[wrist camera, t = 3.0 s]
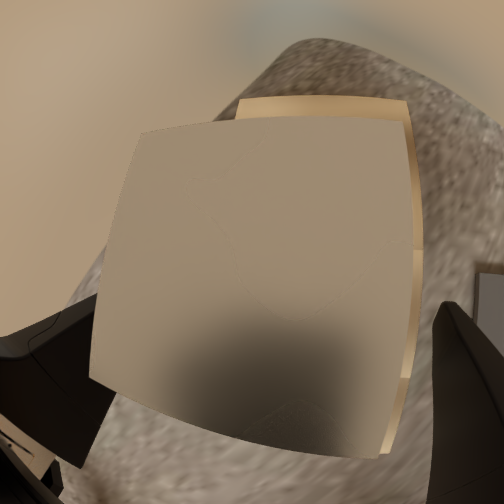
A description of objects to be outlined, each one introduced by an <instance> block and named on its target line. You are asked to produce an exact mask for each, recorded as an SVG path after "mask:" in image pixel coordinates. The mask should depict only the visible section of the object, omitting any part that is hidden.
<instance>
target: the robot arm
mask: <svg viewBox="0 0 504 504" xmlns="http://www.w3.org/2000/svg"><path fill="white" fill-rule="evenodd" d="M97 294H98V293H96V294H94V295H92V296H90V297H88V298H86V299H84V300H82V301H80V302H78V303H76V304H74V305H72V306H70V307H68V308H66V309H64V310H62V311H60V312H58V313H56V314H54V315H52V316H50V317H48V318H46V319H44V320H42V321H40V322H38V323H35V324H33V325H31V326H28V327H26V328H24V329H22V330H19V331H17V332H15V333H13V334H10V335H8V336H4V337H0V504H64V503H63V502H62V501H61V500H60V499H58V497H59V495H60V494H61V492H62V490H63V489H64V487H63V482H62V477H61V471H60V465H59V462H58V461H57V460H56V459H55V457H56V455H57V456H58V457H60V458H62V459H63V460H65V461H67V462H68V463H70V464H72V465H74V466H75V467H77V468H79V469H81V468H82V467H83V465H84V463H85V460H86V458H87V456H88V453H89V451H90V449H91V447H92V444H93V442H94V440H95V438H96V436H97V433H98V431H99V429H100V427H101V426H100V425H101V424H102V422H103V420H104V418H105V416H106V414H107V412H108V410H109V407H110V405H111V403H112V401H113V399H114V397H115V395H116V393H117V392H115V391H113V390H111V389H110V388H108V387H106V386H104V385H102V384H100V383H98V382H97V381H95V380H93V379H91V378H90V377H89V368H90V353H91V341H92V331H93V322H94V314H95V307H96V300H97ZM432 339H433V356H432V383H433V446H432V460H431V471H430V479H429V487H428V494H427V501H426V504H504V357H503V356H502V354H501V353H500V352H499V351H498V349H497V348H496V347H495V346H494V345H493V343H492V342H491V341H490V340H489V339H488V337H487V336H486V335H485V334H484V333H483V332H482V330H481V329H480V328H479V327H478V326H477V325H476V324H475V323H474V322H473V320H472V319H471V318H470V317H469V316H468V315H467V314H466V313H465V312H464V311H463V310H462V309H461V307H460V306H459V305H458V304H457V303H456V302H453V301H444V302H442V303H441V305H440V307H439V310H438V312H437V315H436V317H435V319H434V322H433V327H432Z"/></svg>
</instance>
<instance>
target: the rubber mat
mask: <svg viewBox="0 0 504 504" xmlns="http://www.w3.org/2000/svg"><path fill="white" fill-rule="evenodd" d="M473 322H474V323H475V324H476V325H477V326H478V327H479V328H480V329H481V330H482V332H483V333H484V334H485V335H486V336H487V337H488V339H489V340H490V341H491V342H492V343H493V345H494V346H495V347H496V348H497V349H498V351H499V352H500V353H501V354H502V356H503V357H504V275H500V274H488V273H478V274H475V302H474V316H473Z"/></svg>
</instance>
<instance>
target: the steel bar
mask: <svg viewBox="0 0 504 504" xmlns="http://www.w3.org/2000/svg"><path fill="white" fill-rule="evenodd" d="M412 278H413V207H412V191H411V179H410V169H409V160H408V152H407V145H406V138H405V132H404V126H403V122H401V121H393V120H383V119H372V118H358V117H337V116H282V117H261V118H246V119H234V120H224V121H215V122H208V123H200V124H193V125H186V126H179V127H173V128H167V129H162V130H157V131H151V132H146V133H142V134H141V136H140V139H139V141H138V144H137V146H136V149H135V152H134V155H133V157H132V160H131V163H130V166H129V169H128V172H127V175H126V178H125V181H124V184H123V187H122V191H121V194H120V197H119V201H118V204H117V208H116V211H115V215H114V219H113V222H112V227H111V230H110V234H109V239H108V243H107V247H106V252H105V256H104V261H103V266H102V271H101V276H100V282H99V288H98V294H97V300H96V307H95V314H94V322H93V331H92V341H91V353H90V368H89V377H90V378H91V379H93V380H95V381H97V382H98V383H100V384H102V385H104V386H106V387H108V388H110V389H111V390H113V391H115V392H117V393H119V394H121V395H123V396H125V397H127V398H129V399H131V400H134V401H136V402H138V403H140V404H142V405H144V406H147V407H149V408H151V409H153V410H156V411H158V412H161V413H163V414H165V415H168V416H170V417H173V418H176V419H178V420H181V421H184V422H186V423H189V424H192V425H195V426H198V427H201V428H204V429H207V430H210V431H213V432H216V433H219V434H223V435H226V436H230V437H233V438H237V439H241V440H244V441H248V442H252V443H257V444H261V445H265V446H270V447H275V448H280V449H285V450H291V451H297V452H303V453H310V454H317V455H326V456H335V457H347V458H364V459H378V456H379V453H380V450H381V447H382V444H383V441H384V438H385V434H386V431H387V428H388V424H389V421H390V417H391V413H392V410H393V406H394V402H395V398H396V393H397V389H398V384H399V380H400V375H401V369H402V364H403V359H404V353H405V346H406V340H407V332H408V324H409V316H410V306H411V294H412Z"/></svg>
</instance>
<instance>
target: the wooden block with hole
mask: <svg viewBox="0 0 504 504" xmlns="http://www.w3.org/2000/svg"><path fill="white" fill-rule="evenodd" d="M282 116H337V117H358V118H372V119H383V120H393V121H401V122H403V126H404V132H405V138H406V145H407V152H408V160H409V169H410V179H411V191H412V207H413V278H412V294H411V306H410V316H409V324H408V332H407V340H406V346H405V353H404V359H403V364H402V369H401V375H400V380H399V384H398V389H397V393H396V398H395V402H394V406H393V410H392V413H391V417H390V421H389V424H388V428H387V431H386V434H385V438H384V441H383V444H382V447H381V450H380V453H390V450H391V447H392V444H393V441H394V438H395V435H396V432H397V428H398V425H399V421H400V418H401V414H402V411H403V407H404V403H405V399H406V395H407V390H408V386H409V381H410V376H411V371H412V366H413V361H414V355H415V349H416V342H417V335H418V327H419V318H420V308H421V296H422V279H423V217H422V201H421V189H420V179H419V170H418V162H417V155H416V148H415V142H414V136H413V131H412V126H411V121H410V116H409V111H408V107H407V102H406V101H402V100H394V99H385V98H374V97H360V96H339V95H295V96H273V97H259V98H248V99H240V100H239V104H238V108H237V112H236V116H235V119H246V118H261V117H282Z"/></svg>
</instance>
